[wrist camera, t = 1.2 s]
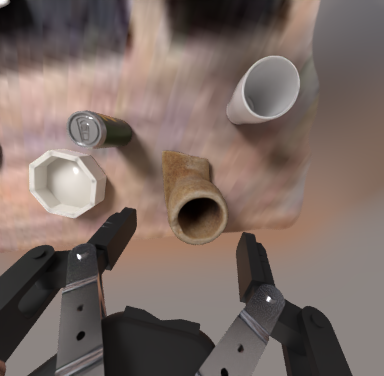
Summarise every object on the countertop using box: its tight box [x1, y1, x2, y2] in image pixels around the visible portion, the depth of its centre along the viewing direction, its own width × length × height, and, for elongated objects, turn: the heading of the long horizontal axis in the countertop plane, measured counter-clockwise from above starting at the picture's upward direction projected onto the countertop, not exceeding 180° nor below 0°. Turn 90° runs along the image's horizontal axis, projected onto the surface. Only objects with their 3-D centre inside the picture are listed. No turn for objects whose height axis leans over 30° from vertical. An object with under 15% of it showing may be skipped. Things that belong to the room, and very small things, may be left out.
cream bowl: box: [29, 149, 107, 218], centre depth 37 cm, size 13×13×4 cm
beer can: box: [67, 110, 132, 149], centre depth 30 cm, size 5×5×12 cm
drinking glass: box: [226, 55, 300, 125], centre depth 27 cm, size 7×7×15 cm
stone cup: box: [162, 150, 228, 245], centre depth 31 cm, size 15×12×15 cm
